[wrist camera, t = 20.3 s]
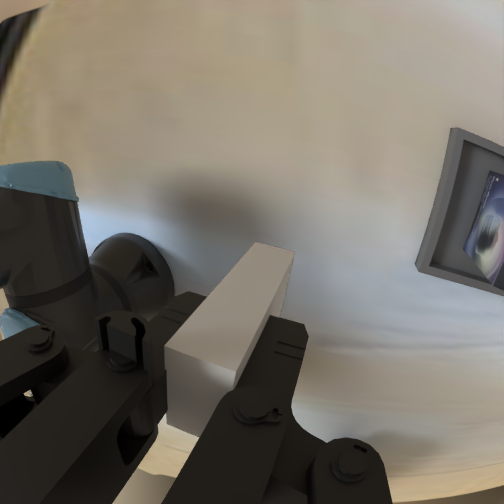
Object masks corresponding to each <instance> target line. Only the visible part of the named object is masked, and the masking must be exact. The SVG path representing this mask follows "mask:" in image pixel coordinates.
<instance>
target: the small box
mask: <svg viewBox="0 0 504 504" xmlns="http://www.w3.org/2000/svg"><path fill="white" fill-rule="evenodd" d="M463 250H464V251H465V252H466V253H467V255H468V256H469V257H470V258H471V259H472V260H473V262H474V263H475V264H476V265H477V266H478V268H479V269H480V270H481V271H482V273H483V274H484V275H485V276H486V278H487V279H488V280H489V282H490V283H491V284H492V286H494V287H496V288H498V289H501V290H503V291H504V175H503V174H500V173H497V172H493V171H489V174H488V178H487V181H486V184H485V188H484V191H483V194H482V198H481V201H480V204H479V207H478V210H477V213H476V215H475V218H474V221H473V224H472V227H471V230H470V232H469V235H468V237H467V240H466V242H465V245H464V247H463Z"/></svg>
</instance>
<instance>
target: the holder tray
mask: <svg viewBox="0 0 504 504" xmlns="http://www.w3.org/2000/svg"><path fill="white" fill-rule="evenodd" d="M489 171H493V172H497V173H500V174H503V175H504V147H503V146H500V145H498V144H496V143H494V142H492V141H489V140H487V139H485V138H482V137H480V136H478V135H475V134H473V133H470V132H468V131H465V130H463V129H460V128H451V130H450V135H449V140H448V145H447V150H446V155H445V160H444V164H443V169H442V173H441V177H440V181H439V185H438V189H437V193H436V197H435V201H434V204H433V208H432V211H431V215H430V218H429V222H428V225H427V228H426V232H425V235H424V238H423V241H422V244H421V247H420V250H419V253H418V256H417V259H416V262H415V265H416V267H417V269H418V272H421V273H425V274H428V275H432V276H435V277H439V278H442V279H446V280H449V281H453V282H456V283H460V284H463V285H467V286H470V287H474V288H477V289H481V290H484V291H488V292H491V293H494V294H498V295H501V296H504V291H503V290H501V289H498V288H496V287H494V286H492V284H491V283H490V282H489V280H488V279H487V278H486V276H485V275H484V274H483V273H482V271H481V270H480V269H479V268H478V266H477V265H476V264H475V263H474V262H473V260H472V259H471V258H470V257H469V256H468V255H467V253H466V252H465V251H464V250H463V247H464V245H465V242H466V240H467V237H468V235H469V232H470V230H471V227H472V224H473V221H474V218H475V215H476V213H477V210H478V207H479V204H480V201H481V198H482V194H483V191H484V188H485V184H486V181H487V178H488V174H489Z"/></svg>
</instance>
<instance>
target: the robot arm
mask: <svg viewBox="0 0 504 504" xmlns="http://www.w3.org/2000/svg"><path fill="white" fill-rule="evenodd" d="M77 202H79V198H78V197H77V196H76V192H75V187H74V182H73V177H72V173H71V170H70V168H69V167H68V166H67V165H66V164H64V163H62V162H59V161H35V162H23V163H15V164H8V165H2V166H0V289H1V288H3V289H4V292H5V295H6V298H7V301H8V304H9V308H7V309H5V310H4V312H3V313H2V315H1V317H0V323H1V330H2V332H3V335H4V337H5V339H4V340H2V341H0V504H112V503H113V502H114V500H115V499H116V497H117V496H118V494H119V493H120V491H121V490H122V489H123V487H124V486H125V484H126V483H127V481H128V480H129V478H130V477H131V476H132V474H133V473H134V471H135V470H136V468H137V467H138V465H139V464H140V462H141V461H142V459H143V458H144V457H145V455H146V454H147V452H148V451H149V449H150V448H151V446H152V445H153V443H154V442H155V440H156V438H157V435H158V423H159V422H160V420H161V419H162V418H163V416H164V415H165V413H166V417H167V424H168V425H171V426H173V427H175V428H178V429H180V430H183V431H185V432H187V433H190V434H192V435H195V436H197V437H200V438H199V439H198V441H197V443H196V445H195V446H194V448H193V450H192V452H191V454H190V455H189V457H188V459H187V461H186V462H185V464H184V466H183V468H182V469H181V471H180V473H179V474H178V476H177V478H176V480H175V482H174V483H173V485H172V487H171V488H170V490H169V492H168V493H167V495H166V497H165V498H164V500H163V502H162V503H161V504H392V499H391V494H390V489H389V485H388V480H387V476H386V472H385V467H384V464H383V461H382V459H381V457H380V455H379V453H378V452H377V451H376V450H375V449H373V448H372V447H371V446H370V445H369V444H367V443H364V442H362V441H360V440H358V439H351V438H340V439H334V440H332V441H330V442H328V443H326V442H324V441H323V440H321V439H319V438H317V437H315V436H313V435H311V434H310V433H309V432H307V431H306V430H304V429H303V428H302V427H301V426H300V425H299V424H298V423H297V421H296V420H295V418H294V416H293V414H292V409H291V403H292V398H293V394H294V390H295V387H296V383H297V379H298V376H299V372H300V368H301V364H302V360H303V357H304V353H305V349H306V345H307V341H308V337H309V336H308V334H307V331H306V328H305V326H304V324H301V323H297V322H294V321H290V320H286V319H283V318H279V317H280V315H281V311H282V307H283V302H284V298H285V294H286V290H287V286H288V281H289V277H290V273H291V268H292V264H293V260H294V255H295V252H293V251H289V250H286V249H282V248H278V247H274V246H270V245H266V244H262V243H258V242H255V243H254V244H253V245H252V247H251V248H250V249H249V250H248V251H247V252H246V253H245V255H244V256H243V257H242V258H241V259H240V260H239V261H238V262H237V264H236V265H235V266H234V267H233V268H232V269H231V270H230V272H229V273H228V274H227V275H226V276H225V277H224V278H223V279H222V281H221V282H220V283H219V284H218V285H217V286H216V287H215V289H214V290H213V291H212V292H211V293H210V294H209V295H208V297H205V296H202V295H199V294H195V293H192V292H189V291H188V292H186V293H183V294H181V295H178V296H176V297H174V283H173V278H172V275H171V272H170V269H169V267H168V265H167V263H166V261H165V260H164V258H163V257H162V255H161V254H160V253H159V251H158V250H157V249H156V248H155V247H154V246H153V245H152V244H150V243H149V242H148V241H146V240H145V239H143V238H141V237H140V236H137V235H134V234H131V233H119V234H116V235H113V236H111V237H109V238H107V239H105V240H104V241H102V242H101V243H100V244H99V245H98V246H97V247H96V249H95V250H94V252H93V254H92V255H91V256H90V257H89V258H88V254H87V249H86V245H85V240H84V235H83V230H82V225H81V220H80V214H79V209H78V203H77ZM28 390H31V392H32V395H33V396H31V397H28V396H25V395H24V394H23V393H25V392H27V391H28Z"/></svg>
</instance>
